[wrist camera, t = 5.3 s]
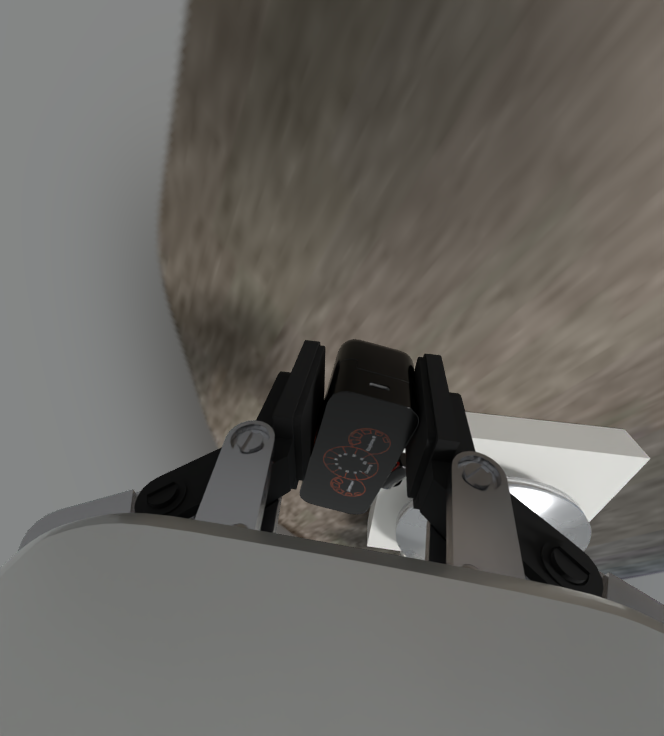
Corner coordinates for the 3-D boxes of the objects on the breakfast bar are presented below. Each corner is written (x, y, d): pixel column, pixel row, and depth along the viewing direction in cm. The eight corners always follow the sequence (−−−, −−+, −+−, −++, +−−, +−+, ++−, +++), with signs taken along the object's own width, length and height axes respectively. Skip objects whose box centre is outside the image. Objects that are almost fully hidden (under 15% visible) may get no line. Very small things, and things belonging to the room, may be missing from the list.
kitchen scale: (390, 403, 23) (395, 519, 15) (624, 429, 21) (748, 569, 14) (365, 531, 33) (361, 637, 26) (521, 554, 32) (563, 671, 25)
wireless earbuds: (309, 448, 16) (294, 510, 13) (344, 328, 11) (331, 386, 9) (398, 471, 16) (400, 537, 13) (467, 361, 11) (491, 429, 9)
